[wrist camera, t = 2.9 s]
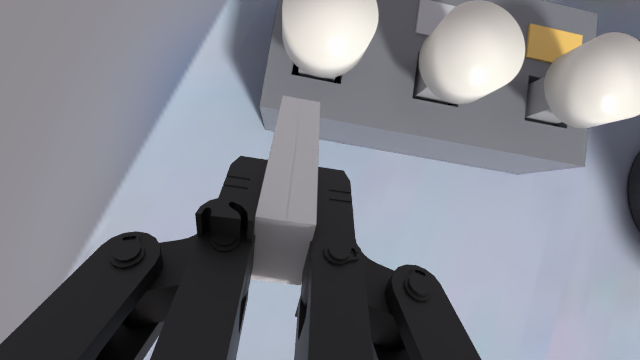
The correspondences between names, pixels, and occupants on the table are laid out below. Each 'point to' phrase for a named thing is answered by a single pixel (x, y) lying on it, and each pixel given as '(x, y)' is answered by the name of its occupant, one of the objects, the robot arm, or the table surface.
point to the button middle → (469, 54)
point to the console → (433, 118)
